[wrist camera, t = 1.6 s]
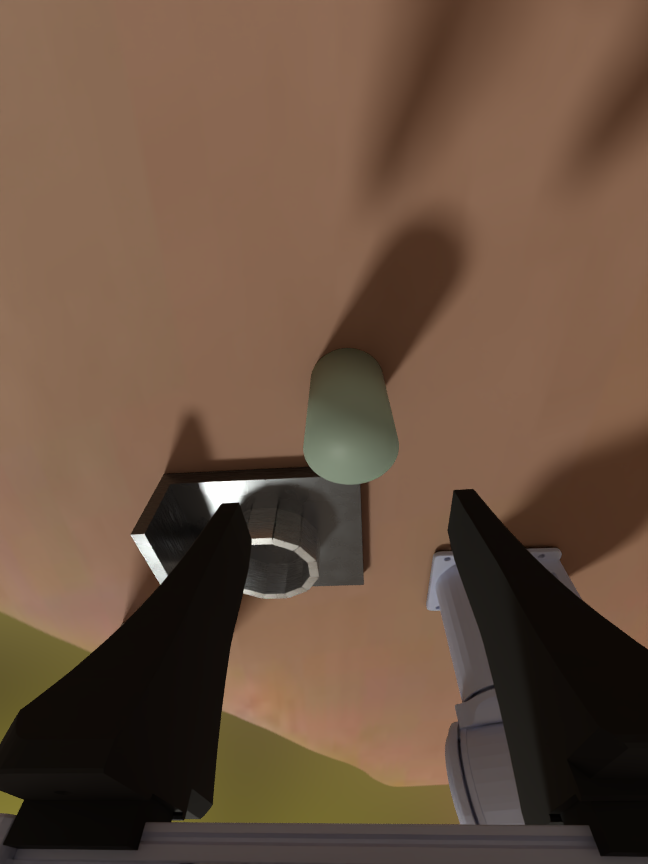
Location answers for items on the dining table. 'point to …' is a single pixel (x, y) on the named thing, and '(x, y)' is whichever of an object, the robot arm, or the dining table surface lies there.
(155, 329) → the dining table surface
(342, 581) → the cup bracket
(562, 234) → the dining table surface
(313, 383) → the grey-green rounded cylinder
